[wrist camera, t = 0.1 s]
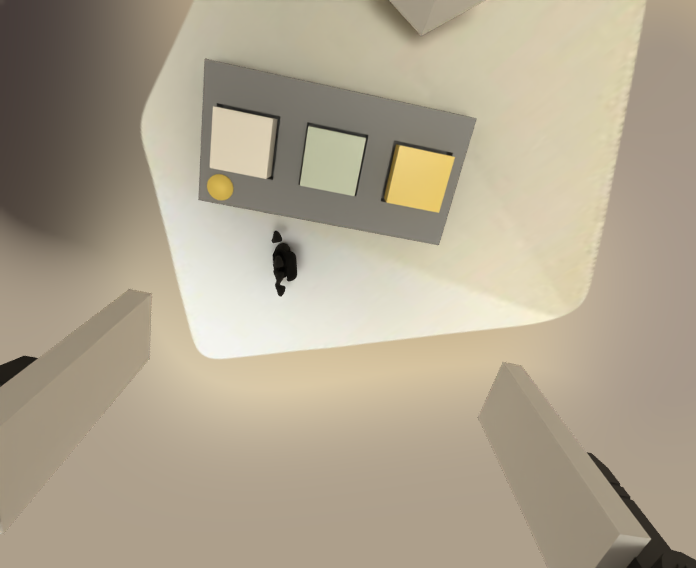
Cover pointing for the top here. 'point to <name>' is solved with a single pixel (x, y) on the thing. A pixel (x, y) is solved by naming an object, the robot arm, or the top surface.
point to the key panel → (340, 116)
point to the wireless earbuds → (283, 263)
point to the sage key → (332, 161)
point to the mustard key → (418, 178)
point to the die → (431, 12)
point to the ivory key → (242, 142)
